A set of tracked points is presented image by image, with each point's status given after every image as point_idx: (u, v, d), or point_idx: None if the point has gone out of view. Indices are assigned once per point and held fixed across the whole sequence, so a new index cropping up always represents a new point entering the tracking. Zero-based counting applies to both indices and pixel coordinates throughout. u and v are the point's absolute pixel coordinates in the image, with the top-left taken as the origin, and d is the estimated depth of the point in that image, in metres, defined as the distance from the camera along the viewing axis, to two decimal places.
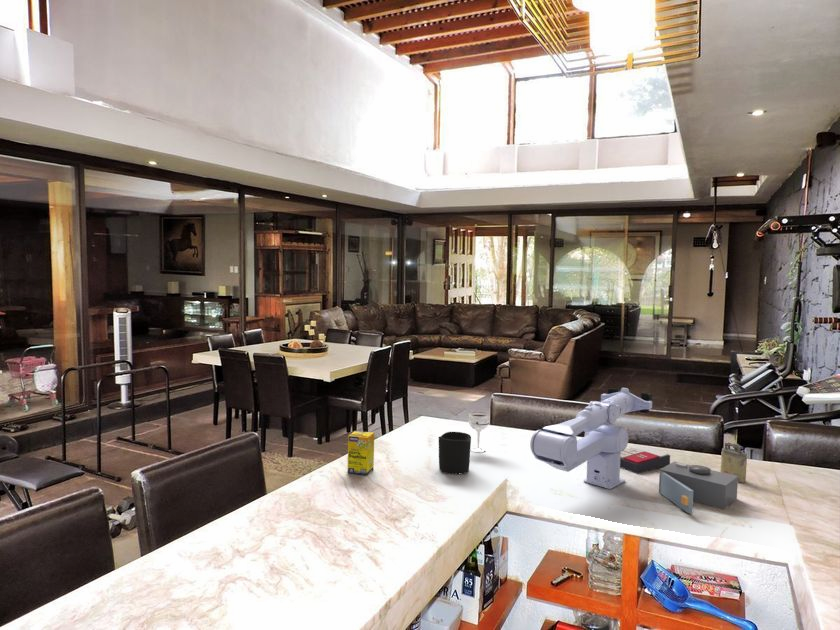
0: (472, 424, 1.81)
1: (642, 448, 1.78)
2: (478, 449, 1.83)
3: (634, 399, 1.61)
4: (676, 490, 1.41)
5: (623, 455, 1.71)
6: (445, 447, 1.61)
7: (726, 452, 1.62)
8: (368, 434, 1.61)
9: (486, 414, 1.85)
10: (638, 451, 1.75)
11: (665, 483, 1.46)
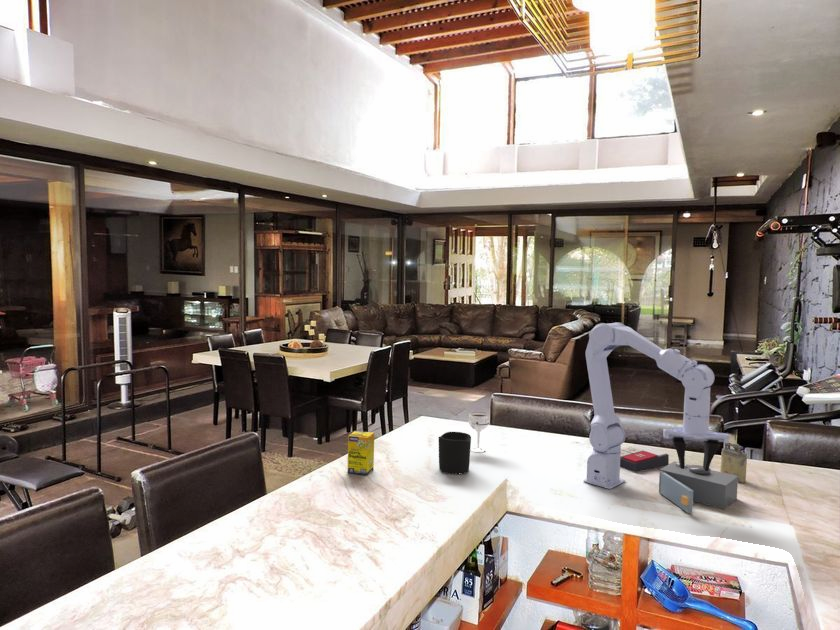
0: (472, 424, 1.81)
1: (641, 447, 1.79)
2: (478, 449, 1.83)
3: (683, 433, 1.39)
4: (676, 490, 1.41)
5: (621, 454, 1.72)
6: (445, 447, 1.61)
7: (726, 452, 1.62)
8: (368, 434, 1.61)
9: (486, 414, 1.85)
10: (637, 450, 1.75)
11: (665, 483, 1.46)
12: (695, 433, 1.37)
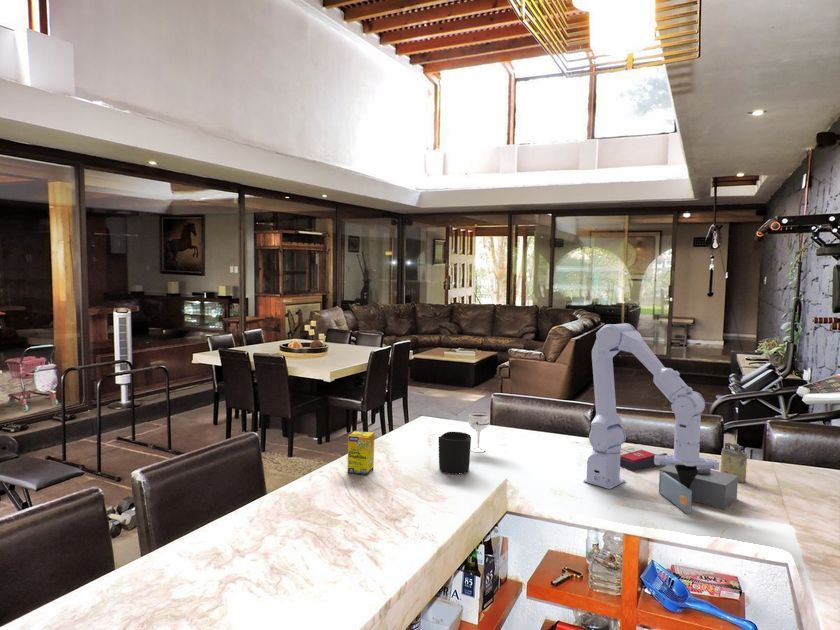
0: (472, 424, 1.81)
1: (640, 447, 1.79)
2: (478, 449, 1.83)
3: (674, 459, 1.40)
4: (675, 490, 1.41)
5: None
6: (445, 447, 1.61)
7: (726, 452, 1.62)
8: (368, 434, 1.61)
9: (486, 414, 1.85)
10: (635, 449, 1.76)
11: (665, 483, 1.46)
12: (686, 460, 1.38)
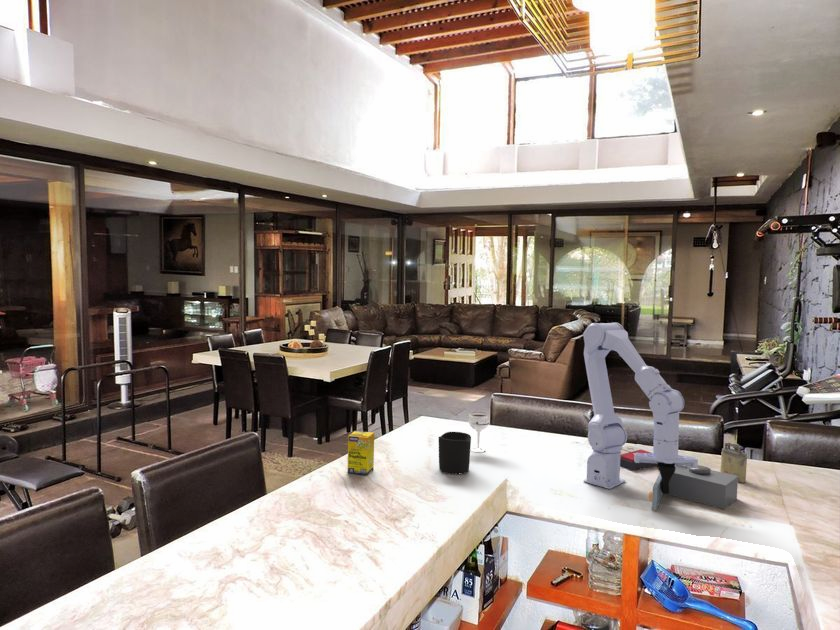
0: (472, 424, 1.81)
1: (639, 446, 1.80)
2: (478, 449, 1.83)
3: (654, 457, 1.41)
4: None
5: None
6: (445, 447, 1.61)
7: (726, 452, 1.62)
8: (368, 434, 1.61)
9: (486, 414, 1.85)
10: (635, 449, 1.77)
11: None
12: (664, 458, 1.39)
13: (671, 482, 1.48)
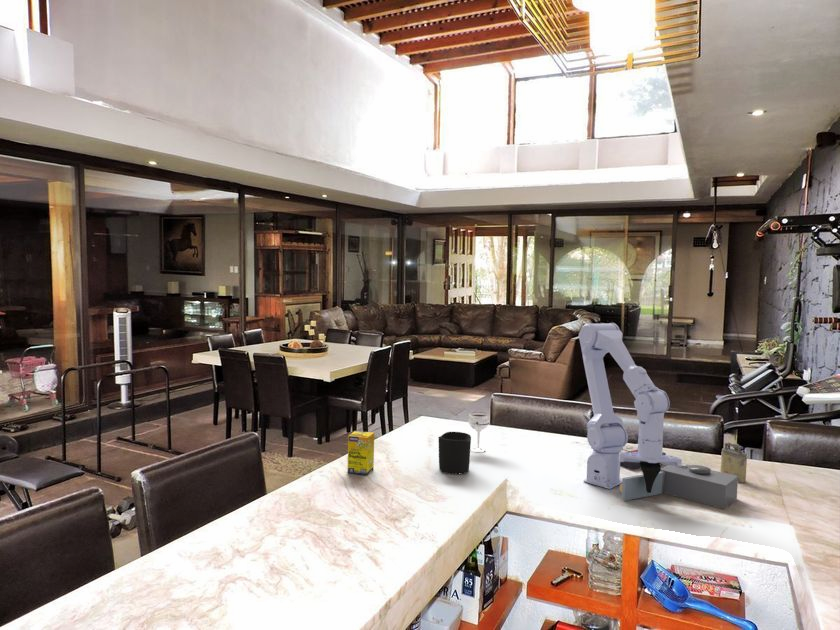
0: (472, 424, 1.81)
1: None
2: (478, 449, 1.83)
3: (638, 456, 1.42)
4: None
5: None
6: (445, 447, 1.61)
7: (726, 452, 1.62)
8: (368, 434, 1.61)
9: (486, 414, 1.85)
10: (634, 449, 1.77)
11: None
12: (648, 457, 1.40)
13: (671, 482, 1.48)
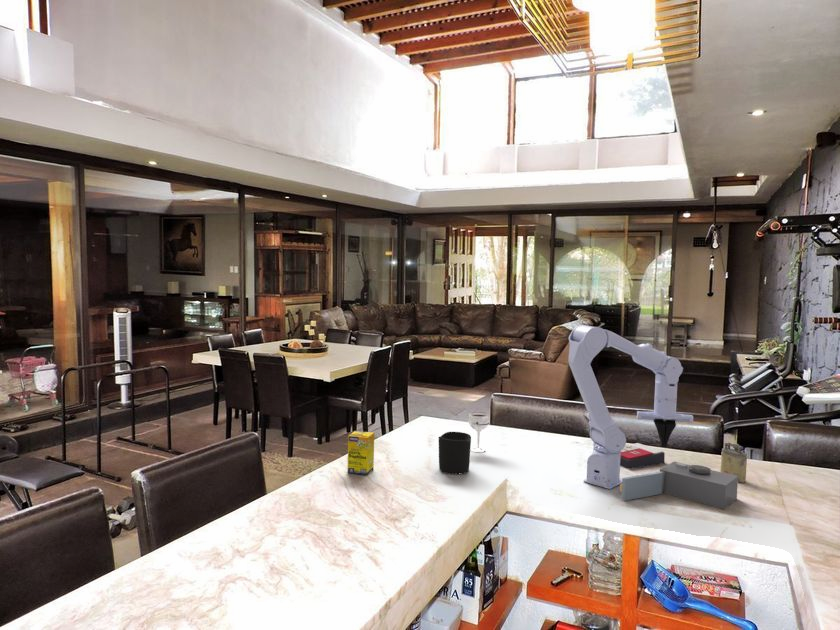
0: (472, 424, 1.81)
1: (638, 445, 1.81)
2: (478, 449, 1.83)
3: (654, 414, 1.59)
4: None
5: None
6: (445, 447, 1.61)
7: (726, 452, 1.62)
8: (368, 434, 1.61)
9: (486, 414, 1.85)
10: (633, 448, 1.78)
11: None
12: (664, 414, 1.57)
13: (671, 482, 1.48)
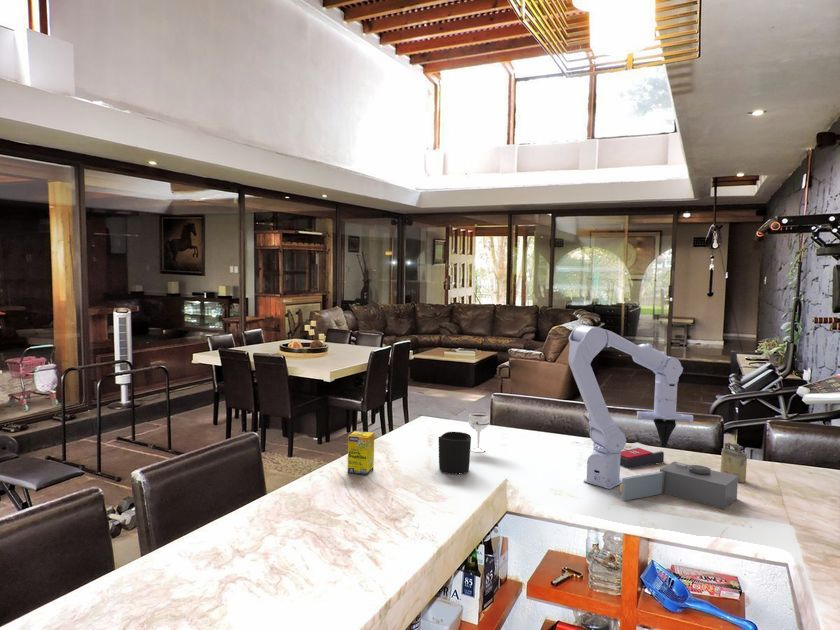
0: (472, 424, 1.81)
1: (637, 445, 1.82)
2: (478, 449, 1.83)
3: (654, 414, 1.59)
4: None
5: None
6: (445, 447, 1.61)
7: (726, 452, 1.62)
8: (368, 434, 1.61)
9: (486, 414, 1.85)
10: (632, 447, 1.78)
11: None
12: (664, 414, 1.57)
13: (671, 482, 1.48)
